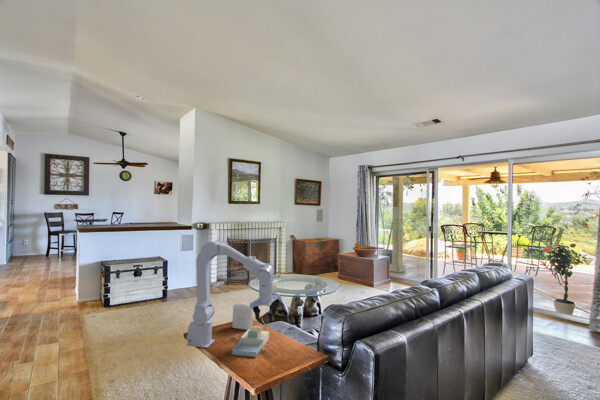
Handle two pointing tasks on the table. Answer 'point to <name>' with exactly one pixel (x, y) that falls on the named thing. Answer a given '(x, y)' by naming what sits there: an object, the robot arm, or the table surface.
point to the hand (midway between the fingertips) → (265, 316)
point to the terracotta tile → (257, 328)
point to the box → (246, 350)
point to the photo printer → (242, 316)
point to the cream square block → (255, 341)
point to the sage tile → (253, 333)
